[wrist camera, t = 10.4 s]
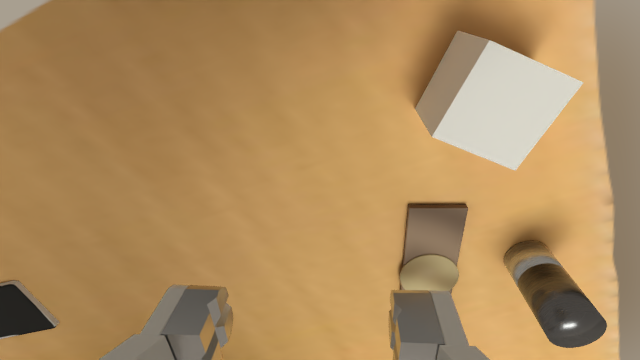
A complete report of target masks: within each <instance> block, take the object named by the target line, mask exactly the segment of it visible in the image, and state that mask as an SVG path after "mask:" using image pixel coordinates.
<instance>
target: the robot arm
mask: <svg viewBox="0 0 640 360" xmlns="http://www.w3.org/2000/svg"><path fill="white" fill-rule="evenodd" d="M227 298H228V293H227V290H226V288H225V287H217V286H197V285H172V286H171V287H169V288H168V289H167V291H166V293H165V294H164V296H163V297H162V299H161V301H160V302H159V304H158V306H157V307H156V309H155V310H154V312H153V314H152V315H151V317H150V318H149V320H148V322H147V323H146V325H145V326H144V328H143V330H142V331H141V333H140V334H134V335H133V336H131V337H130V338H128V339H127V340H126V341H124V342H123V343H121V344H120V345H119V346H117V347H116V348H114V349H113V350H112V351H110V352H109V353H107V354H106V355H104V356H103V357H102V358H100V359H99V360H222V358H223V355H222V351H221V347H222V346H224V345H225V344H226V343H227V342H228V340H229V337H230V334H231V331H232V324H233V313H232V308H231V306H229V305H228V304H227V303H226V301H227ZM390 303H391V310H390V311H389V337H390V346H391V348H392V349H393V360H490V359H489V358H488V357H486V356H485V355H484V354H483V353H482V352H481V351H480V350H479V349H478V348H477V347H476V346H469V344H468V341H467V338H466V335H465V332H464V330H463V327H462V324H461V321H460V318H459V316H458V313H457V310H456V307H455V304H454V301H453V299H452V296H451V294H450V292H449V291H432V290H429V291H428V290H391V295H390Z"/></svg>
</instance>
